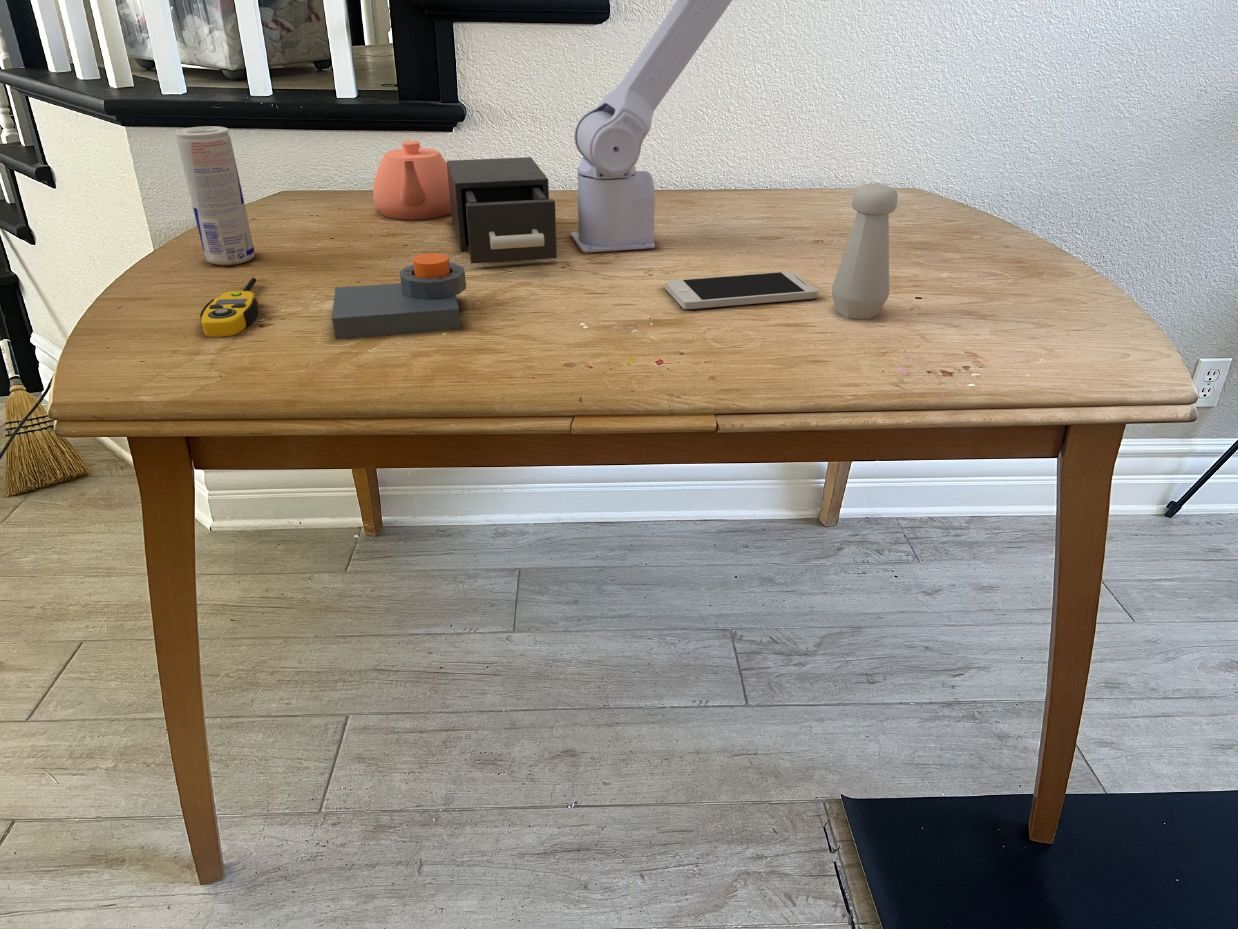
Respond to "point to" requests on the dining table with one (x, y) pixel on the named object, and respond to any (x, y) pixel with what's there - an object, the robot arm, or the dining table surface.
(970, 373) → the dining table surface
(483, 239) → the pull-out drawer
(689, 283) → the smartphone
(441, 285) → the block
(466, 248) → the small drawer cabinet
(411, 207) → the teapot
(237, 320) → the yellow walkie talkie
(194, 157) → the beverage can
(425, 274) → the button
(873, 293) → the salt shaker
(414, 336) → the dining table surface
